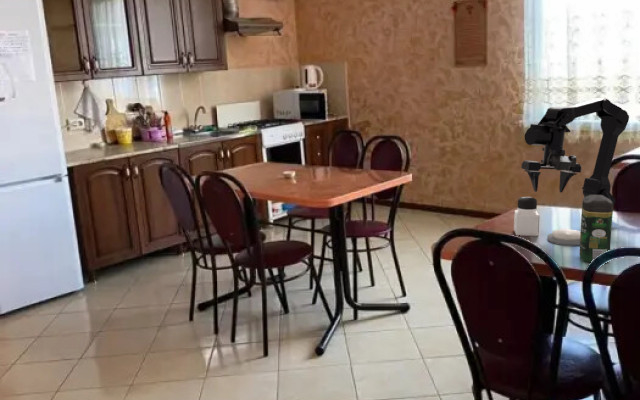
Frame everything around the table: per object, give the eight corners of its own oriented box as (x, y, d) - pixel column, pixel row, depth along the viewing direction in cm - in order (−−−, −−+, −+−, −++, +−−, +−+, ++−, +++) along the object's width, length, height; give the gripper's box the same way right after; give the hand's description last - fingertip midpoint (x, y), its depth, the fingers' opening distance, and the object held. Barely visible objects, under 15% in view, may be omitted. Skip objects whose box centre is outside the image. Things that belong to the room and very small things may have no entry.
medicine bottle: (538, 236, 204) (540, 200, 202) (515, 235, 206) (517, 200, 203) (535, 230, 211) (537, 195, 209) (513, 230, 213) (515, 195, 210)
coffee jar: (577, 253, 185) (580, 192, 181) (606, 255, 183) (610, 193, 179) (580, 263, 176) (584, 199, 172) (611, 265, 174) (616, 200, 170)
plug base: (557, 233, 207) (557, 226, 206) (593, 239, 199) (594, 232, 198) (540, 241, 199) (540, 233, 198) (577, 247, 190) (578, 240, 190)
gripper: (539, 146, 197) (534, 195, 200) (593, 149, 201) (587, 197, 203) (523, 143, 208) (518, 189, 211) (574, 145, 211) (568, 191, 214)
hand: (548, 192), depth 210 cm, fingers open, 9 cm apart
